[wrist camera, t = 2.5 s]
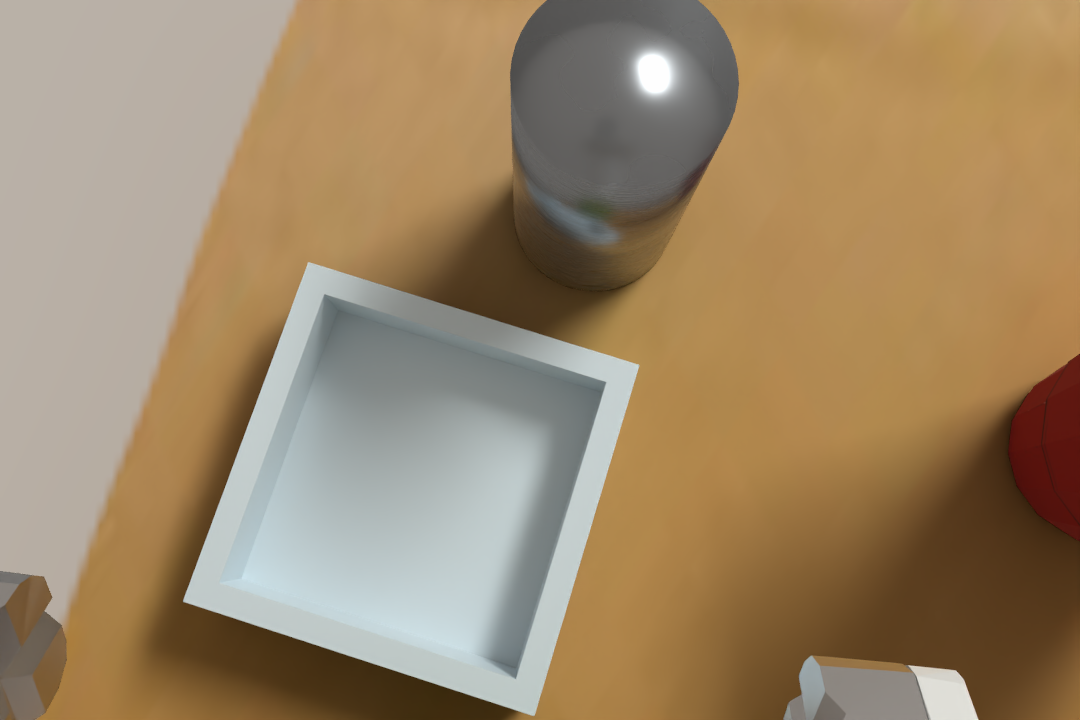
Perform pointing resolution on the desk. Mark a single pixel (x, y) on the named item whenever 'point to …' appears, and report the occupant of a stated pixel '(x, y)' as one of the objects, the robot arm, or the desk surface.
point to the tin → (613, 131)
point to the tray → (415, 488)
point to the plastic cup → (1050, 448)
